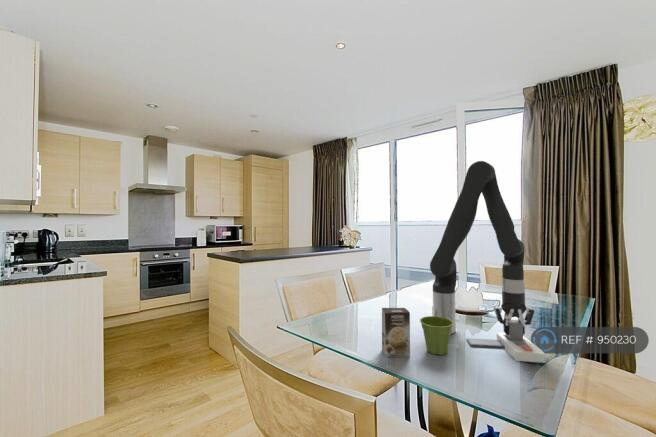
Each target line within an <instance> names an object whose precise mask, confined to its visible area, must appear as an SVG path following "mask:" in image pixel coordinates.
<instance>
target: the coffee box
mask: <svg viewBox="0 0 656 437" xmlns="http://www.w3.org/2000/svg"><path fill="white" fill-rule="evenodd" d="M381 351H382V353H383V355H384V357H385V358H404V357H405V358H406V357H407V358H408V357H409V358H410V357H411V314H410V311H409V310H408V309H407V308H405V307H381Z"/></svg>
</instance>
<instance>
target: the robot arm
mask: <svg viewBox="0 0 656 437" xmlns="http://www.w3.org/2000/svg"><path fill="white" fill-rule="evenodd" d="M497 179H498V178H497V175H496V170H495V168H494V166H493V165H492V164H490V163H489V162H487V161H484V160H477V161H475V162H473V163H472V164H471V165H469V167H468V169H467V171H466V174H465V177H464V182H463V185H462V188H461V191H460V194H459V196H458V198H457V200H456V202H455V205H454V207H453V209H452V212H451V214H450V216H449V218H448V221H447V224H446V226H445V230H444V231H443V235H442V238H441V241H440V242H439V245H438V247H437V249H436V250H435V253H434V255H433V257H432V258H431V260H430V261H429V262H430V263H429V269H430V271H431V273H432V275H434V278H435V279H434V282H433V284H432V308H431V310H432V311H431V313H432V314H431V316H438V317H444V318H447V319H450V320H451V321H453V325H452V327H451V331H450V335H451V334H455V333H456V332H457V324H456V323H457V322H456V321H457V320H456V319H457V318H456V317H457V316H456V315H457V314H456V286H457V263H456V260H455V255H456V254H457V251H458V249H459V248H460V246H461V244H463V242H464V241H465V239H466V238H467V236H468V235H469V234H470V232H471V229H472V227H473V224H474V222H475V219H476V215H477V210H478V205H479V199H480V196H481V194H482V196H483V199H484V203H485V206H486V211H487V215H488V218H489V220H490V223H491V226H492V228H493V230H494V232H495V237H496V240H497V245H498V248H499V250H500V252H501V253H502V254H503V264H502V266H501V267H502V270H501V274H502V277H501V278H502V280H501V300H502V301H501V302H502V303H501V305H500V306H497V307H496V306H494V307H493V310H494V313H495V316H496V319H497V321H498V322H499V323H500V324H501V325H502V326H503V333H505V334H506V335H509V326H508V325H509V322H510V320H512V318H516V319H517V320H518V321H520V322H521V323H522V324H523V335H525V333H526V329H525V328H526V326H530V325H531V323H532V320H533V318H534V314H535V310H534V309H532V308H531V307H527V306H526V292H525V291H526V288H525V280H524V278H525V277H524V276H525V275H524V273H525V271H524V261H525V260H524V258H525V245H524V243H523V241H522V240H521V239H519V238H518V237H517V234H516V231H515V225H514V221H513V218H512V216H511V214H510V212H509V210H508V207H507V205H506V204H505V201H504V199H503V197H502V194H501V191H500V187H499V185H498V180H497ZM503 312H504V315H503V316H502V313H503ZM524 313H526V314H525V317H524V315H523V314H524Z"/></svg>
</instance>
